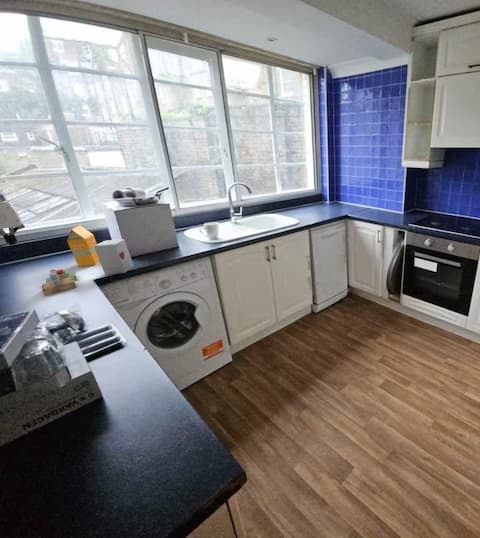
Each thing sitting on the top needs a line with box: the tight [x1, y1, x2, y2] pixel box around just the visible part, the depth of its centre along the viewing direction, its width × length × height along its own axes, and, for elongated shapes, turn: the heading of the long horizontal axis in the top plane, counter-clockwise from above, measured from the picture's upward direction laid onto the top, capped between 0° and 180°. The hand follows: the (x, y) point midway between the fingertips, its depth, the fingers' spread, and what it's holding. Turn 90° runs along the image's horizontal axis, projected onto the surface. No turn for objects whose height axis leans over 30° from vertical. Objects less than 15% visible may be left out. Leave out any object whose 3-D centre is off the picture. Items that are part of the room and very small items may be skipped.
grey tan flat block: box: [49, 268, 60, 286], centre depth 127 cm, size 7×2×5 cm, turn 45°
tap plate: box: [40, 277, 77, 296], centre depth 129 cm, size 11×11×3 cm
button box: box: [45, 270, 78, 283], centre depth 136 cm, size 10×7×4 cm
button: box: [55, 269, 65, 275], centre depth 135 cm, size 3×3×2 cm
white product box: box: [94, 238, 135, 276], centre depth 144 cm, size 9×9×15 cm
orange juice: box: [66, 224, 100, 268], centre depth 154 cm, size 8×9×20 cm
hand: (13, 244), depth 121 cm, fingers closed
